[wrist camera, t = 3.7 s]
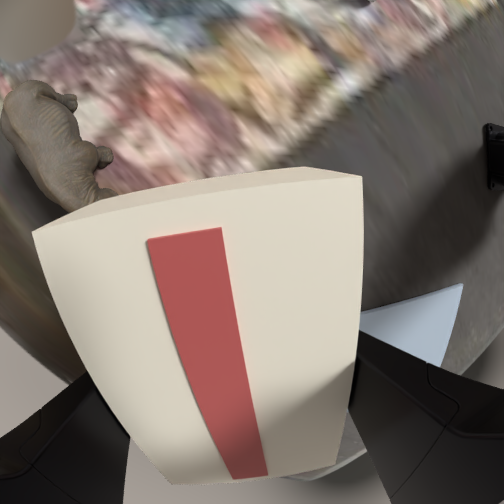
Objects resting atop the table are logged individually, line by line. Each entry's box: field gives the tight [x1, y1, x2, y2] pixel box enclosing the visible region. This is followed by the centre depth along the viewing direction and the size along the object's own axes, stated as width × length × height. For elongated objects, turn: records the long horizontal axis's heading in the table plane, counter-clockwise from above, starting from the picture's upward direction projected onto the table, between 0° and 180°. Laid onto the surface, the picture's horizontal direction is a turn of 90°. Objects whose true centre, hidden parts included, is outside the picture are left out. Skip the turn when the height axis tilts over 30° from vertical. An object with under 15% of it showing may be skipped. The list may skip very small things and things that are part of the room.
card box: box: [32, 167, 363, 485], centre depth 7 cm, size 6×10×4 cm, turn 7°
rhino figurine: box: [0, 80, 119, 214], centre depth 13 cm, size 4×14×6 cm, turn 36°
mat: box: [347, 283, 463, 412], centre depth 23 cm, size 18×13×1 cm
